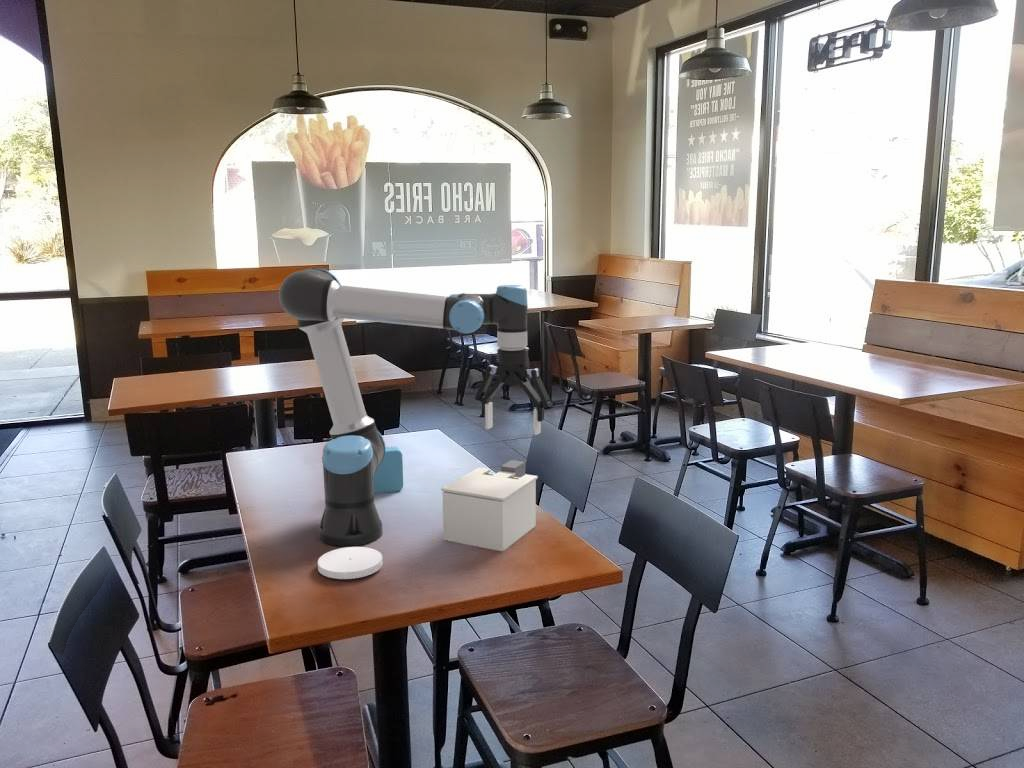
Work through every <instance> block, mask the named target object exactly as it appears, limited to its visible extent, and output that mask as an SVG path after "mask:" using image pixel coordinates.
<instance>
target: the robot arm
mask: <svg viewBox="0 0 1024 768" xmlns="http://www.w3.org/2000/svg"><path fill="white" fill-rule="evenodd" d="M278 298H279V299H278V300H279V304H280V306H281V307H282V309H283V310H284V312H285V313H286V314H287V315H289V316H290V317H292V318H294V319H296V321H297V325H298V328H299V330H301V331H303V332H304V333H306V334H307V337H308V338H307V339H308V340H309V344H310V348H311V352H312V355H313V359H314V362H315V366H316V369H317V371H318V375H319V380H320V382H321V383H320V384H321V386H322V390H323V392H324V396H325V400H326V403H327V406H328V410H329V413H330V417H331V421H332V424H333V425H332V427H331V429H330V430H329V435H330V438H331V440H329V441H327V442H326V443H325V444H324V446H323V449H322V457H321V459H322V460H321V461H322V462H321V463H322V468H323V470H322V471H323V473H322V474H323V489H324V490H323V491H324V505H325V506H324V509H323V513H322V517H321V520H320V525H319V527H318V532H319V533H318V537H319V540H320V541H321V542H323V543H325V544H328V545H331V546H336V545H337V547H355V546H360V545H366V544H368V543H371V542H374V541H376V540H378V539H379V538H380V537H381V536H382V535H383V523H382V520H381V519H380V515H379V513H378V509H377V507H376V505H375V493H374V488H373V475H374V474H375V472H376V471H377V469H378V468H379V467H380V465H381V464H382V462H383V460H384V457H385V450H386V447H387V446H386V442H385V439H384V437H383V436H382V434H381V433H380V431H379V430H378V428H377V425H376V423H375V419H374V418H373V417H370V416H368V414H367V411H366V409H365V405H364V402H363V398H362V394H361V391H360V387H359V384H358V383H359V382H358V379H357V377H356V376H357V375H356V373H355V369H354V366H353V362H352V359H351V355H350V351H349V348H348V345H347V344H348V343H347V340H346V338H345V337H346V336H345V334H344V330H343V326H342V323H343V321H344V320H345V319H346V320H355V321H363V322H364V321H365V322H377V323H384V324H385V323H386V324H395V325H406V326H416V327H424V328H425V327H426V328H435V329H445V330H452V331H456V332H458V333H461V334H471V333H474V332H476V331H477V330H478V329H480V328H481V327H482V325H496V326H497V328H496V329H497V331H496V333H497V334H496V336H497V338H496V346H497V348H498V349H497V350H496V351H497V352H496V353H497V355H496V356H497V359H496V361H497V366H496V365H494V364H489V365H487V366H486V367H485V374H484V377H483V379H482V380H481V381H482V382H481V383H480V386H479V387H478V390H477V392H476V395H475V396H474V400H475V401H479V402H481V410H482V412H481V413H482V416H485V417H484V419H485V420H484V429H485V430H489V429H491V428H493V427H494V421H493V419H494V418H493V415H494V413H493V408H494V407H493V405H494V404H493V402H492V401H491V400H492V399H493V398H494V396H495V395H496V393H498V391H499V390H500V389H501V387H502V386H503V385H505V386H515V387H517V386H519V387H520V388H521V389H522V390H523V392H525V394H526V395H527V397H528V398H529V400H531V403H532V404H533V405H534V406H535V408H534V409H533V436H537V435H539V434H541V433H542V429H541V428H542V422H544V420H545V408H548V407H550V406H551V405H552V401H551V398H550V396H549V394H548V392H547V391H548V390H546V387H545V385H544V382H543V380H542V378H541V375H540V374H541V372H540V368H538V367H536V368H531V369H529V368H528V362H529V361H528V359H529V357H528V356H529V355H528V354H529V353H528V349H527V348H526V347H528V312H529V311H528V308H529V307H528V290H527V287H525V286H524V285H521V284H520V285H519V284H502V285H498V286H497V287H496V291H495V293H465V292H463V293H452V294H450V295H449V296H445V295H434V294H427V293H426V294H425V293H419V292H418V293H417V292H416V293H415V292H408V291H407V292H405V291H399V290H398V291H397V290H387V289H378V288H369V287H362V286H361V287H359V286H350V285H342V284H341V283H340V281H339V279H338V277H337V276H336V275H335V274H333V272H331V271H329V270H328V269H323V268H319V267H313V268H312V267H311V268H306V269H303V270H298V271H295V272H292V273H290V274H289V275H288V276H286V278H284V280H283V281H282V282H281V284H280V287H279V290H278ZM496 373H497V375H498V376H499V377H498V378H497V379H496V381H495V383H494V384H493V385H492V386H491V388H490V389H489V387H490V383H491V381H492V379H493V377H494V375H495V374H496ZM528 376H529V377H530V378H531V381H532V383H533V386H534V388H535V389H534V388H533V386H532V384H531V382H530V381H529V379H528ZM488 389H489V390H488Z"/></svg>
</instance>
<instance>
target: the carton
mask: <svg viewBox="0 0 1024 768" xmlns="http://www.w3.org/2000/svg"><path fill="white" fill-rule="evenodd" d="M494 474H495V473H493V472H492V473H491V472H488V473H487V474H485V475H492V476H493V475H494ZM519 478H520V477H511V479H519ZM536 480H537V479H536ZM536 480H535V481H533V482H532V483H530V484H529V485H527V486H526V487H524V488H523V489H521V490H520V491H518V492H517V493H515V494H514V495H512V496H511V497H509V498H508V499H506V500H505V501H500V500H494V499H488V498H482V497H476V496H470V495H464V494H458V493H452V492H446V491H442V523H443V525H442V528H443V529H442V533H443V534H442V535H443V541H446V540H448V542H451V541H452V543H458V544H463V545H466V546H467V545H468V546H473V547H477V546H478V548H483V549H487V550H488V549H489V550H493V551H499V552H504V551H506V550H507V549H508V548H509V547H511V546H512V545H513V544H515V543H516V542H518V540H519V539H521V538H522V537H524V536H525V535H526V534H528V533H529V531H531V530H532V529H533V528H535V527H536V525H537V523H536V521H537V520H536V518H537V515H536V513H537V511H536V505H537V503H536V501H537V498H536V497H537V493H536V492H537V490H536V489H537V487H536V486H537V481H536Z"/></svg>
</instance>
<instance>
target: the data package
mask: <svg viewBox="0 0 1024 768" xmlns="http://www.w3.org/2000/svg"><path fill="white" fill-rule="evenodd" d="M403 459H404V458H403V453H402V451H401V450H400V448H399V447H398V446H386V450H385V457H384V460H383V462H382V464H381V465H380V467H379V468H378V469H377V471H376V472H375V474H374V475H373V488H374V494H382V492H384V493H391V492H392V491H395V492H399V491H401V490H402V489H403V488H404V467H403V466H404V465H403V464H404V463H403V462H404V461H403Z"/></svg>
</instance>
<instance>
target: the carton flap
mask: <svg viewBox="0 0 1024 768" xmlns="http://www.w3.org/2000/svg"><path fill="white" fill-rule="evenodd" d="M487 473H491V468H484V467H477V468H475V469H474V470H472V471H470V472H468V473H467V474H464V475H463V476H461V477H460V478H457V479H456V480H454V481H452V482H450V483H449V484H447V485H445V486H443V487H441V489H440V490H441V491H442V492H444V491H446V492H452V493H458V494H464V495H470V496H476V497H482V498H488V499H494V500H500V501H505V500H506V499H508V498H509V497H511V496H512V495H514V494H515V493H517V492H518V491H520V490H521V489H523V488H524V487H526V486H527V485H529V484H530V483H532V482H533V481H535V480H538V479H539V476H538V475H533V474H526V461H521V460H515V459H510V460H509V461H507V462H505V463H504V464H502V465H500V471H497V472H496V473H493V474H494V475H493V476H492V475H485V474H487ZM511 477H519V479H511Z"/></svg>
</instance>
